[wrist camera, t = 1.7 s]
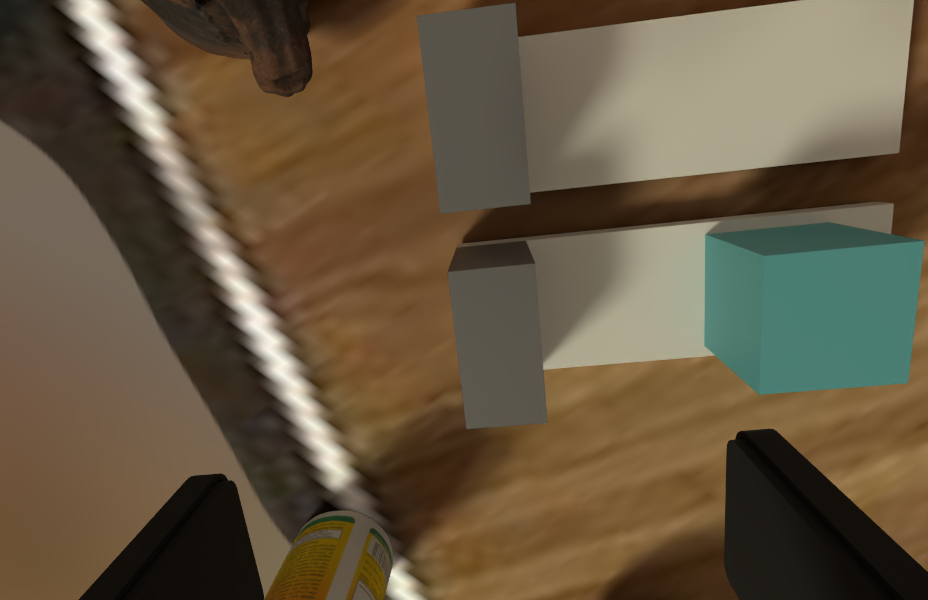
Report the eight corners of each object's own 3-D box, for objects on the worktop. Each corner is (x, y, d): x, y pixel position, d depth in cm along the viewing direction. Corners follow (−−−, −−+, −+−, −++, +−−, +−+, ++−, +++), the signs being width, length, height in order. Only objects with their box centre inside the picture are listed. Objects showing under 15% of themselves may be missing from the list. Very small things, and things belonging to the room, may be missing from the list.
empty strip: (895, -7, 21) (1053, -71, 15) (881, 153, 22) (1019, 152, 16) (436, 52, 22) (416, 15, 16) (453, 199, 23) (440, 213, 18)
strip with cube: (876, 201, 23) (1009, 217, 17) (864, 334, 24) (982, 390, 18) (458, 243, 24) (447, 271, 18) (472, 367, 25) (466, 429, 20)
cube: (829, 222, 22) (924, 240, 17) (821, 336, 23) (908, 383, 18) (705, 234, 22) (763, 256, 18) (704, 345, 24) (759, 394, 19)
